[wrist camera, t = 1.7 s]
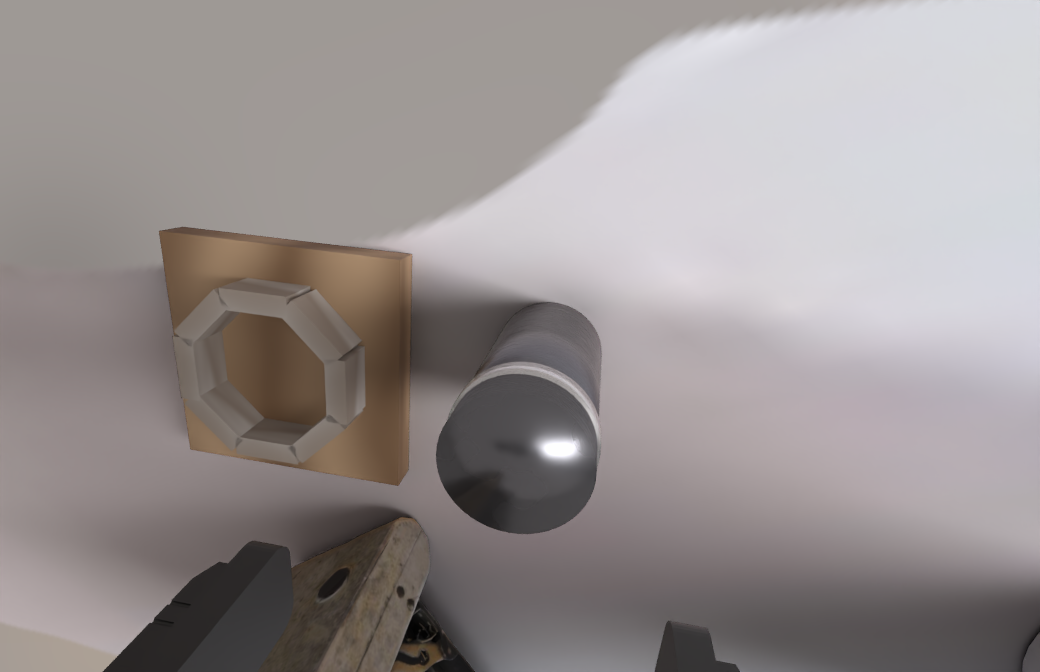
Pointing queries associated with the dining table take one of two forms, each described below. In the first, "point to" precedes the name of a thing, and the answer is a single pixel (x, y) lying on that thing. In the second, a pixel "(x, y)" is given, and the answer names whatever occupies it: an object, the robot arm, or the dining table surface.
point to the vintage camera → (365, 609)
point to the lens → (527, 424)
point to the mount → (292, 350)
